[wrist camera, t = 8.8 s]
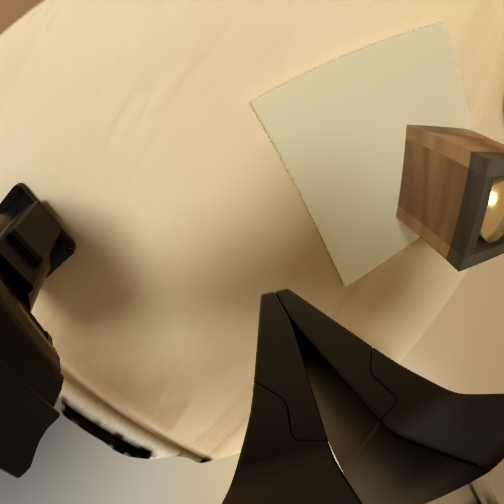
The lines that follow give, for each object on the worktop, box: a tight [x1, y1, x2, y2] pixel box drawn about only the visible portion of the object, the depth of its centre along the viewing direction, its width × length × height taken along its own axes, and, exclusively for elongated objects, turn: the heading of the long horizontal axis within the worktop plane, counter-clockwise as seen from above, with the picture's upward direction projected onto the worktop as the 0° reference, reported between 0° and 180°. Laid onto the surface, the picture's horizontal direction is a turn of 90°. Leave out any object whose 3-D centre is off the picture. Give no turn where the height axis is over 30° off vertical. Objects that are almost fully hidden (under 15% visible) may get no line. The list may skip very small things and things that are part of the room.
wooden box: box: [396, 125, 504, 271], centre depth 19 cm, size 8×8×8 cm
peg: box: [479, 176, 504, 243], centre depth 19 cm, size 5×5×8 cm
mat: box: [249, 22, 471, 287], centre depth 21 cm, size 18×18×1 cm
